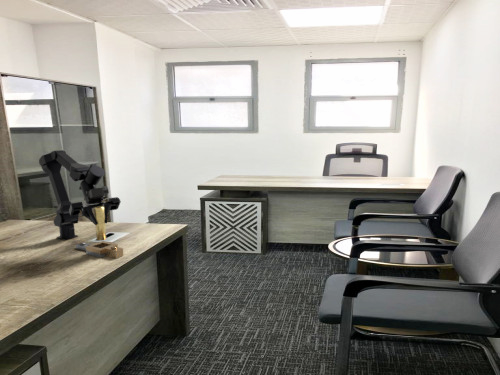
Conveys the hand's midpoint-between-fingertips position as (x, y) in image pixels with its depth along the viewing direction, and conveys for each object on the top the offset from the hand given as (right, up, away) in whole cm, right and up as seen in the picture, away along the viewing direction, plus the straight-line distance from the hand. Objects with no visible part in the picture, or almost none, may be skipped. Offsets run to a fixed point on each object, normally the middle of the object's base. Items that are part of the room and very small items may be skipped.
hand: (101, 223), depth 145 cm
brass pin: (-1, -6, +2) cm, 7 cm away
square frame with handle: (-3, -12, +4) cm, 13 cm away
